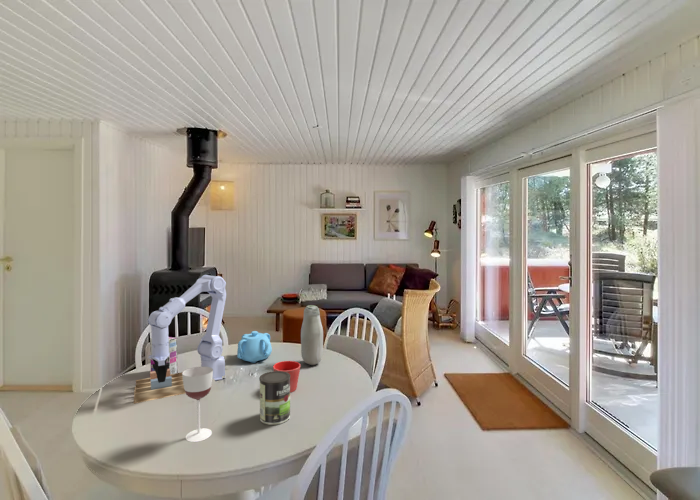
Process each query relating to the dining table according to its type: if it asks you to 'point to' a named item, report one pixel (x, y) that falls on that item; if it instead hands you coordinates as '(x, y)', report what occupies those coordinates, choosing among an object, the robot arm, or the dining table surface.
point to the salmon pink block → (154, 375)
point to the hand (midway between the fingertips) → (161, 378)
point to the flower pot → (290, 368)
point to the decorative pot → (254, 347)
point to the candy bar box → (172, 356)
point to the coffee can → (274, 397)
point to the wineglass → (198, 396)
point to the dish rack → (146, 394)
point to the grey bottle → (311, 336)
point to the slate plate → (161, 383)
